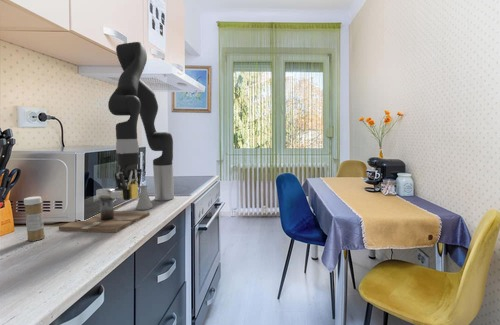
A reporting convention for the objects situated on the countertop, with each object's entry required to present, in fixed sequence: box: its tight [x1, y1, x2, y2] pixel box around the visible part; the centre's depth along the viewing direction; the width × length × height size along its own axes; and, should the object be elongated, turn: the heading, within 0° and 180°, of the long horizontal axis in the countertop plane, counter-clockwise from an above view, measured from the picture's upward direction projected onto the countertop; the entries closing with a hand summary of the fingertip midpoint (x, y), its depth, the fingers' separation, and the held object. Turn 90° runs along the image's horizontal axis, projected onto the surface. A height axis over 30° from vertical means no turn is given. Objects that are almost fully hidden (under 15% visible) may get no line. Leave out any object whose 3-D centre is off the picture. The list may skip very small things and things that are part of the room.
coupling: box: [95, 183, 139, 200], centre depth 112 cm, size 15×6×5 cm, turn 79°
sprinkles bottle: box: [23, 196, 45, 242], centre depth 96 cm, size 5×5×13 cm
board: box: [58, 210, 150, 234], centre depth 113 cm, size 23×22×1 cm
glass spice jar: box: [99, 198, 115, 220], centre depth 114 cm, size 6×4×8 cm
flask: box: [135, 185, 154, 211], centre depth 133 cm, size 7×7×10 cm
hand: (130, 198), depth 111 cm, fingers closed on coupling, 4 cm apart
